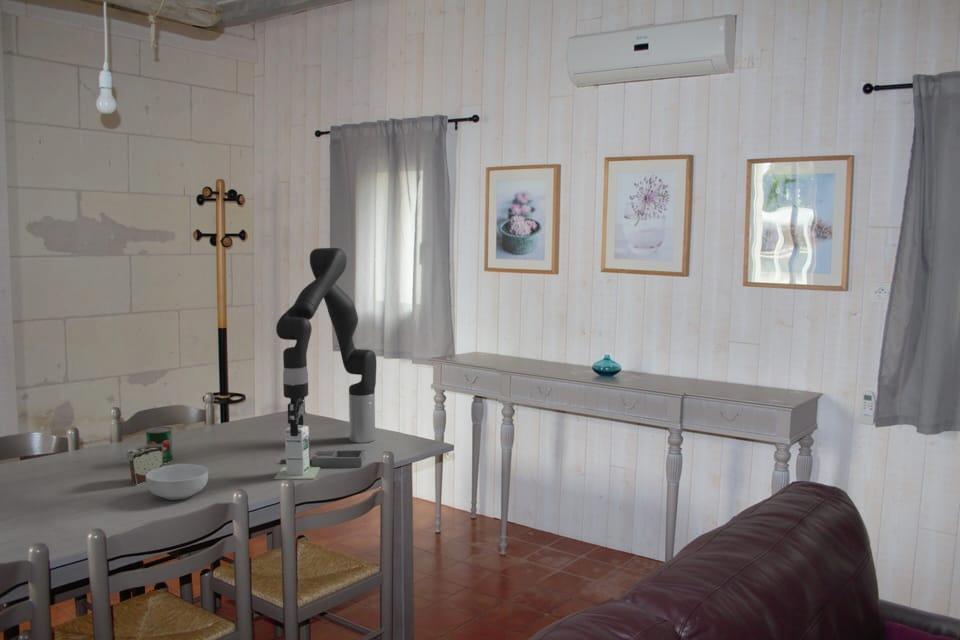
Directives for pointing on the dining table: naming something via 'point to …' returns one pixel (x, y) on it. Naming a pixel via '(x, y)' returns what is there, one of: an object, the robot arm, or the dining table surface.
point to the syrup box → (297, 451)
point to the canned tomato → (161, 440)
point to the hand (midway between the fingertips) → (297, 432)
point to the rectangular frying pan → (337, 458)
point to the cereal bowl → (177, 480)
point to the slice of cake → (144, 461)
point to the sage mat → (307, 475)
